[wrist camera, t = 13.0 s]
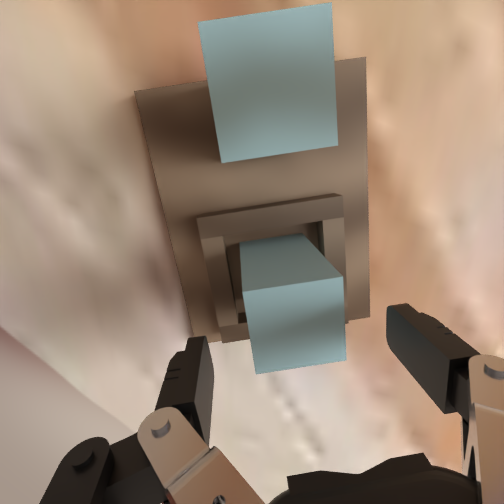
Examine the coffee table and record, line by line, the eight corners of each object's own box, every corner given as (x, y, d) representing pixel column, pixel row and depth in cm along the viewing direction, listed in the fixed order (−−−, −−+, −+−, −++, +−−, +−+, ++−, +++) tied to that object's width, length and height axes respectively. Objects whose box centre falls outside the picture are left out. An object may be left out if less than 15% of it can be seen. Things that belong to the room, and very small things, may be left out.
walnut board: (139, 94, 18) (51, 34, 9) (358, 62, 18) (472, -28, 9) (197, 337, 23) (176, 439, 15) (364, 310, 24) (438, 396, 15)
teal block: (239, 242, 20) (242, 291, 12) (302, 232, 20) (343, 276, 13) (248, 298, 21) (256, 374, 14) (306, 289, 22) (346, 360, 14)
